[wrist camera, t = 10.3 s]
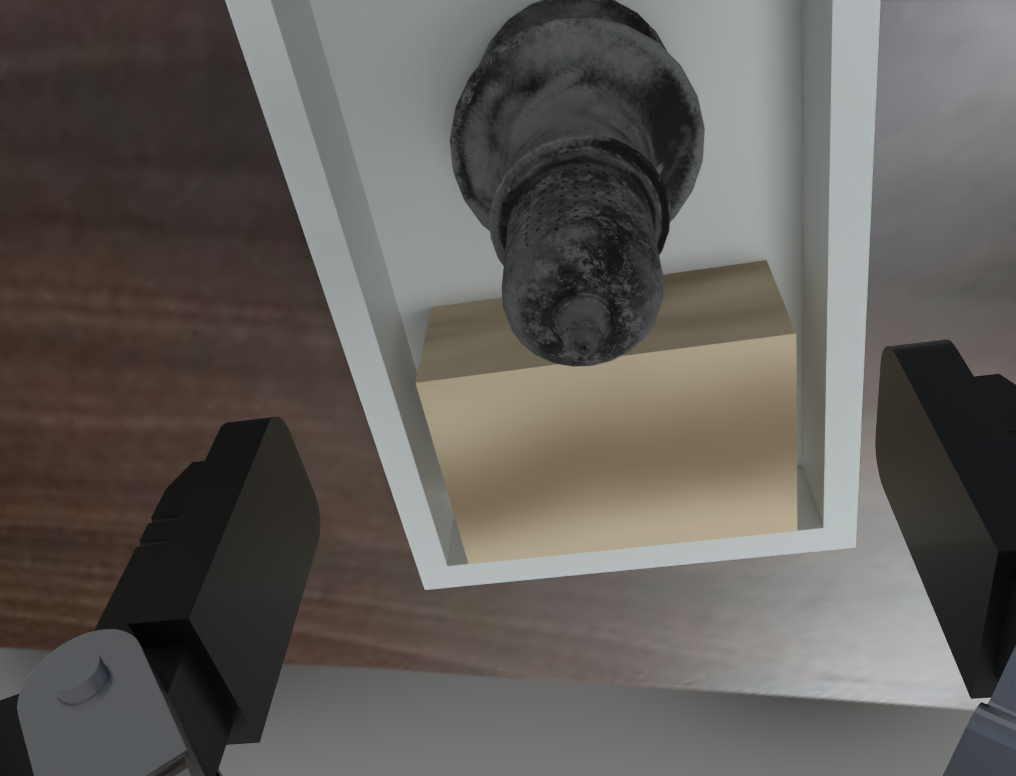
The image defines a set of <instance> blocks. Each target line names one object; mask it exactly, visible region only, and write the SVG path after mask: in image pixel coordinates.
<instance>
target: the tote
mask: <svg viewBox="0 0 1016 776" xmlns="http://www.w3.org/2000/svg"><path fill="white" fill-rule="evenodd" d="M225 1H226V4H227V7H228V10H229V13H230V16H231V19H232V22H233V25H234V28H235V31H236V34H237V37H238V40H239V43H240V46H241V49H242V52H243V55H244V58H245V61H246V63H247V66H248V69H249V72H250V75H251V78H252V81H253V84H254V87H255V90H256V93H257V96H258V99H259V102H260V105H261V108H262V111H263V114H264V117H265V120H266V123H267V125H268V128H269V131H270V134H271V137H272V140H273V143H274V146H275V149H276V152H277V155H278V158H279V161H280V164H281V167H282V170H283V173H284V176H285V179H286V182H287V184H288V187H289V190H290V193H291V196H292V199H293V202H294V205H295V208H296V211H297V214H298V217H299V220H300V223H301V226H302V229H303V232H304V235H305V238H306V241H307V244H308V246H309V249H310V252H311V255H312V258H313V261H314V264H315V267H316V270H317V273H318V276H319V279H320V282H321V285H322V288H323V291H324V294H325V297H326V300H327V303H328V306H329V308H330V311H331V314H332V317H333V320H334V323H335V326H336V329H337V332H338V335H339V338H340V341H341V344H342V347H343V350H344V353H345V356H346V359H347V362H348V365H349V367H350V370H351V373H352V376H353V379H354V382H355V385H356V388H357V391H358V394H359V397H360V400H361V403H362V406H363V409H364V412H365V415H366V418H367V421H368V424H369V427H370V429H371V432H372V435H373V438H374V441H375V444H376V447H377V450H378V453H379V456H380V459H381V462H382V465H383V468H384V471H385V474H386V477H387V480H388V483H389V486H390V489H391V491H392V494H393V497H394V500H395V503H396V506H397V509H398V512H399V515H400V518H401V521H402V524H403V527H404V530H405V533H406V536H407V539H408V542H409V545H410V548H411V550H412V553H413V556H414V559H415V562H416V565H417V568H418V571H419V574H420V577H421V580H422V583H423V586H424V589H425V590H428V589H439V588H449V587H459V586H469V585H479V584H489V583H500V582H510V581H520V580H530V579H540V578H551V577H561V576H571V575H581V574H591V573H602V572H612V571H622V570H632V569H642V568H652V567H663V566H673V565H683V564H693V563H703V562H714V561H724V560H734V559H744V558H754V557H765V556H775V555H785V554H795V553H805V552H815V551H826V550H836V549H846V548H856V530H857V508H858V486H859V464H860V442H861V420H862V398H863V376H864V354H865V332H866V310H867V288H868V266H869V244H870V222H871V200H872V178H873V156H874V134H875V112H876V90H877V68H878V46H879V24H880V2H881V0H615V1H617V2H619V3H620V4H622V5H624V6H626V7H628V8H630V9H631V10H633V11H635V12H637V13H638V14H639V15H640V16H641V17H642V18H643V19H644V20H645V21H646V22H647V23H648V24H649V25H650V26H651V27H652V28H653V29H654V30H655V31H656V32H657V34H658V36H659V37H660V39H661V41H662V43H663V45H664V46H665V48H666V50H667V52H668V53H669V54H670V55H671V56H672V57H673V58H674V59H675V60H676V61H677V62H678V63H679V64H680V65H681V66H682V68H683V70H684V72H685V74H686V75H687V77H688V79H689V81H690V83H691V85H692V86H693V88H694V90H695V92H696V94H697V96H698V100H699V104H700V109H701V114H702V118H703V123H704V127H705V133H704V150H703V162H702V165H701V168H700V171H699V173H698V176H697V179H696V182H695V185H694V188H693V191H692V193H691V194H690V196H689V197H688V199H687V200H686V202H685V203H684V205H683V206H682V208H681V209H680V211H679V212H678V214H677V215H676V217H675V218H674V219H673V220H672V221H671V222H670V230H669V233H668V236H667V239H666V242H665V245H664V248H663V251H662V252H661V254H660V255H659V257H660V262H661V267H662V273H663V275H664V274H672V273H679V272H686V271H693V270H700V269H707V268H714V267H721V266H728V265H736V264H743V263H750V262H757V261H764V260H767V262H768V265H769V267H770V270H771V272H772V275H773V277H774V280H775V282H776V284H777V287H778V289H779V292H780V294H781V297H782V299H783V302H784V304H785V307H786V309H787V312H788V314H789V317H790V319H791V321H792V324H793V326H794V329H795V331H796V365H797V531H792V532H782V533H772V534H762V535H753V536H743V537H733V538H723V539H713V540H703V541H693V542H683V543H674V544H664V545H654V546H644V547H634V548H624V549H614V550H605V551H595V552H585V553H575V554H565V555H555V556H545V557H535V558H526V559H516V560H506V561H496V562H486V563H476V564H468V560H467V557H466V554H465V550H464V547H463V543H462V540H461V536H460V533H459V530H458V526H457V523H456V519H455V516H454V513H453V509H452V506H451V502H450V499H449V495H448V492H447V489H446V485H445V482H444V478H443V475H442V472H441V468H440V465H439V461H438V458H437V454H436V451H435V448H434V444H433V441H432V437H431V434H430V431H429V427H428V424H427V420H426V417H425V414H424V410H423V407H422V403H421V400H420V396H419V393H418V390H417V386H416V378H417V373H418V369H419V364H420V359H421V354H422V349H423V345H424V340H425V335H426V330H427V326H428V321H429V316H430V311H431V307H437V306H444V305H451V304H458V303H466V302H473V301H480V300H487V299H494V298H501V297H502V278H503V268H504V266H503V265H502V263H501V262H500V261H499V259H498V257H497V254H496V252H495V249H494V246H493V244H492V241H491V236H490V231H489V230H488V229H486V228H485V227H484V226H483V225H482V224H481V223H480V221H479V220H478V219H477V217H476V216H475V215H474V213H473V212H472V210H471V209H470V208H469V206H468V205H467V204H466V202H465V201H464V199H463V196H462V194H461V191H460V188H459V186H458V183H457V181H456V178H455V176H454V173H453V167H452V158H451V148H450V136H451V130H452V124H453V118H454V112H455V107H456V105H457V103H458V100H459V98H460V96H461V94H462V92H463V90H464V88H465V85H466V83H467V81H468V79H469V77H470V76H471V74H472V73H473V72H474V71H475V70H476V69H477V67H478V66H479V64H480V61H481V59H482V57H483V55H484V53H485V51H486V49H487V47H488V44H489V42H490V41H491V39H492V38H493V37H494V36H495V35H496V34H497V32H498V31H499V30H500V29H501V28H502V26H503V25H504V24H505V23H506V22H507V21H508V20H509V19H510V18H512V17H513V16H515V15H516V14H517V13H519V12H520V11H522V10H523V9H525V8H526V7H528V6H529V5H531V4H533V3H536V2H539V1H542V0H225Z"/></svg>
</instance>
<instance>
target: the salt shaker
mask: <svg viewBox="0 0 1016 776" xmlns="http://www.w3.org/2000/svg"><path fill="white" fill-rule="evenodd" d="M704 133H705V127H704V123H703V118H702V114H701V109H700V104H699V100H698V96H697V94H696V92H695V90H694V88H693V86H692V85H691V83H690V81H689V79H688V77H687V75H686V74H685V72H684V70H683V68H682V66H681V65H680V64H679V63H678V62H677V61H676V60H675V59H674V58H673V57H672V56H671V55H670V54H669V53H668V52H667V50H666V48H665V46H664V45H663V43H662V41H661V39H660V37H659V36H658V34H657V32H656V31H655V30H654V29H653V28H652V27H651V26H650V25H649V24H648V23H647V22H646V21H645V20H644V19H643V18H642V17H641V16H640V15H639V14H638V13H637V12H635V11H633V10H631V9H630V8H628V7H626V6H624V5H622V4H620V3H619V2H617V1H615V0H542V1H539V2H536V3H533V4H531V5H529V6H528V7H526V8H525V9H523V10H522V11H520V12H519V13H517V14H516V15H515V16H513V17H512V18H510V19H509V20H508V21H507V22H506V23H505V24H504V25H503V26H502V28H501V29H500V30H499V31H498V32H497V34H496V35H495V36H494V37H493V38H492V39H491V41H490V42H489V44H488V47H487V49H486V51H485V53H484V55H483V57H482V59H481V61H480V64H479V66H478V67H477V69H476V70H475V71H474V72H473V73H472V74H471V76H470V77H469V79H468V81H467V83H466V85H465V88H464V90H463V92H462V94H461V96H460V98H459V100H458V103H457V105H456V107H455V112H454V118H453V124H452V130H451V136H450V148H451V158H452V167H453V173H454V176H455V178H456V181H457V183H458V186H459V188H460V191H461V194H462V196H463V199H464V201H465V202H466V204H467V205H468V206H469V208H470V209H471V210H472V212H473V213H474V215H475V216H476V217H477V219H478V220H479V221H480V223H481V224H482V225H483V226H484V227H485V228H486V229H488V230H489V231H490V236H491V241H492V244H493V246H494V249H495V252H496V254H497V257H498V259H499V261H500V262H501V263H502V265H503V266H504V268H503V278H502V302H503V308H504V311H505V314H506V317H507V319H508V322H509V325H510V327H511V330H512V331H513V333H514V334H515V335H516V337H517V338H518V339H519V341H520V342H521V343H522V345H524V346H525V347H526V348H527V349H529V350H530V351H531V352H533V353H534V354H535V355H536V356H539V357H541V358H543V359H545V360H548V361H550V362H552V363H556V364H561V365H566V366H572V367H577V366H594V365H598V364H602V363H606V362H609V361H612V360H614V359H616V358H618V357H620V356H622V355H624V354H626V353H628V352H630V351H631V350H632V349H633V348H634V347H635V346H637V345H638V344H639V343H640V342H641V341H642V340H644V338H645V337H646V335H647V334H648V333H649V331H650V330H651V328H652V327H653V326H654V324H655V321H656V319H657V316H658V313H659V310H660V307H661V304H662V300H663V286H664V278H663V273H662V267H661V262H660V257H659V255H660V254H661V252H662V251H663V248H664V245H665V242H666V239H667V236H668V233H669V230H670V222H671V221H672V220H673V219H674V218H675V217H676V215H677V214H678V212H679V211H680V209H681V208H682V206H683V205H684V203H685V202H686V200H687V199H688V197H689V196H690V194H691V193H692V191H693V188H694V185H695V182H696V179H697V176H698V173H699V171H700V168H701V165H702V162H703V150H704Z"/></svg>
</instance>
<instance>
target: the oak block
mask: <svg viewBox="0 0 1016 776" xmlns="http://www.w3.org/2000/svg"><path fill="white" fill-rule="evenodd" d="M663 278H664V286H663V300H662V304H661V307H660V310H659V313H658V316H657V319H656V321H655V324H654V326H653V327H652V328H651V330H650V331H649V333H648V334H647V335H646V337H645V338H644V340H642V341H641V342H640V343H639V344H638V345H637V346H635V347H634V348H633V349H632V350H631V351H630V352H628V353H626V354H624V355H622V356H620V357H618V358H616V359H614V360H612V361H609V362H606V363H602V364H598V365H594V366H577V367H572V366H566V365H561V364H556V363H552V362H550V361H548V360H545V359H543V358H541V357H539V356H536V355H535V354H534V353H533V352H531V351H530V350H529V349H527V348H526V347H525V346H524V345H522V343H521V342H520V341H519V339H518V338H517V337H516V335H515V334H514V333H513V331H512V330H511V327H510V325H509V322H508V319H507V317H506V314H505V311H504V308H503V302H502V297H501V298H494V299H487V300H480V301H473V302H466V303H458V304H451V305H444V306H437V307H431V311H430V316H429V321H428V326H427V330H426V335H425V340H424V345H423V349H422V354H421V359H420V364H419V369H418V373H417V378H416V386H417V390H418V393H419V396H420V400H421V403H422V407H423V410H424V414H425V417H426V420H427V424H428V427H429V431H430V434H431V437H432V441H433V444H434V448H435V451H436V454H437V458H438V461H439V465H440V468H441V472H442V475H443V478H444V482H445V485H446V489H447V492H448V495H449V499H450V502H451V506H452V509H453V513H454V516H455V519H456V523H457V526H458V530H459V533H460V536H461V540H462V543H463V547H464V550H465V554H466V557H467V560H468V564H476V563H486V562H496V561H506V560H516V559H526V558H535V557H545V556H555V555H565V554H575V553H585V552H595V551H605V550H614V549H624V548H634V547H644V546H654V545H664V544H674V543H683V542H693V541H703V540H713V539H723V538H733V537H743V536H753V535H762V534H772V533H782V532H792V531H797V365H796V331H795V329H794V326H793V324H792V321H791V319H790V317H789V314H788V312H787V309H786V307H785V304H784V302H783V299H782V297H781V294H780V292H779V289H778V287H777V284H776V282H775V280H774V277H773V275H772V272H771V270H770V267H769V265H768V262H767V260H764V261H757V262H750V263H743V264H736V265H728V266H721V267H714V268H707V269H700V270H693V271H686V272H679V273H672V274H664V275H663Z"/></svg>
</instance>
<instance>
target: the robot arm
mask: <svg viewBox="0 0 1016 776" xmlns="http://www.w3.org/2000/svg"><path fill="white" fill-rule="evenodd" d="M876 458H877V465H878V471H879V475H880V479H881V483H882V486H883V488H884V491H885V493H886V496H887V498H888V501H889V503H890V505H891V508H892V510H893V513H894V515H895V517H896V520H897V522H898V525H899V527H900V529H901V532H902V534H903V537H904V539H905V541H906V544H907V546H908V549H909V551H910V553H911V556H912V558H913V561H914V563H915V565H916V568H917V570H918V573H919V575H920V577H921V580H922V582H923V585H924V587H925V589H926V592H927V594H928V597H929V599H930V601H931V604H932V606H933V609H934V611H935V613H936V616H937V618H938V621H939V623H940V625H941V628H942V630H943V633H944V635H945V637H946V640H947V642H948V645H949V647H950V649H951V652H952V654H953V657H954V659H955V661H956V664H957V666H958V669H959V671H960V673H961V676H962V678H963V681H964V683H965V685H966V688H967V690H968V693H969V695H970V697H971V699H974V698H989V697H991V699H990V701H989V702H988V704H984V703H980V704H979V705H978V707H977V708H976V710H975V711H974V713H973V715H972V716H971V718H970V720H969V722H968V724H967V726H966V728H965V731H964V733H963V735H962V737H961V739H960V741H959V743H958V745H957V747H956V749H955V752H954V753H953V756H952V758H951V760H950V762H949V764H948V766H947V768H946V770H945V772H944V774H943V776H1016V385H1015V384H1014V383H1012V382H1011V381H1009V380H1008V379H1006V378H1005V377H1003V376H1002V375H1000V374H994V375H985V376H976V377H974V376H973V374H972V373H971V371H970V369H969V368H968V366H967V365H966V363H965V361H964V360H963V358H962V357H961V355H960V353H959V352H958V350H957V349H956V347H955V346H954V344H953V343H952V342H951V341H950V340H939V341H930V342H922V343H913V344H905V345H896V346H888V347H885V349H884V350H883V353H882V357H881V367H880V381H879V396H878V411H877V425H876ZM151 518H152V523H149V524H148V525H147V527H146V529H145V531H144V533H143V535H142V537H141V539H140V541H139V542H140V547H136V549H135V551H134V553H133V555H132V557H131V559H130V561H129V563H128V565H127V567H126V569H125V571H124V573H123V575H122V577H121V579H120V581H119V583H118V585H117V586H116V588H115V590H114V592H113V594H112V596H111V598H110V600H109V602H108V604H107V606H106V608H105V610H104V612H103V614H102V616H101V618H100V620H99V622H98V624H97V626H96V628H95V630H94V631H93V632H89V633H86V634H83V635H81V636H78V637H76V638H74V639H72V640H70V641H68V642H66V643H64V644H63V645H61V646H60V647H58V648H57V649H55V650H54V651H53V652H51V653H50V654H49V655H48V656H46V657H45V658H44V659H43V660H42V661H41V662H40V663H39V664H38V665H37V666H36V668H35V669H34V670H33V671H32V672H31V674H30V675H29V677H28V678H27V679H26V681H25V683H24V685H23V687H22V689H21V691H20V694H17V695H14V696H12V697H9V698H6V699H3V700H0V776H223V775H222V774H221V772H220V770H219V769H218V768H219V765H220V762H221V759H222V756H223V753H224V750H225V747H226V745H229V744H244V743H259V742H260V739H261V736H262V733H263V729H264V726H265V722H266V719H267V715H268V712H269V708H270V705H271V702H272V698H273V695H274V691H275V688H276V684H277V681H278V678H279V674H280V671H281V667H282V664H283V661H284V657H285V654H286V650H287V647H288V643H289V640H290V637H291V633H292V630H293V626H294V623H295V619H296V616H297V613H298V609H299V606H300V602H301V599H302V595H303V592H304V589H305V585H306V582H307V578H308V575H309V571H310V568H311V565H312V561H313V558H314V554H315V551H316V547H317V544H318V540H319V534H320V514H319V507H318V503H317V499H316V496H315V493H314V491H313V488H312V486H311V483H310V481H309V478H308V476H307V473H306V471H305V468H304V466H303V463H302V461H301V459H300V456H299V454H298V451H297V449H296V446H295V444H294V441H293V439H292V436H291V434H290V431H289V429H288V427H287V425H286V423H285V422H284V421H283V420H282V419H281V418H280V417H270V418H262V419H253V420H245V421H236V422H228V423H225V424H224V425H223V426H222V427H221V428H220V430H219V432H218V434H217V436H216V438H215V441H214V443H213V445H212V447H211V449H210V451H209V453H208V455H207V457H206V459H205V461H200V462H192V463H191V464H190V465H189V466H188V467H187V468H186V469H185V470H184V471H183V472H182V473H181V474H180V475H179V476H178V477H177V478H176V479H175V480H174V482H173V483H172V484H171V485H170V486H169V487H168V488H167V489H166V490H165V492H164V494H163V496H162V498H161V500H160V502H159V504H158V506H157V508H156V510H155V512H154V514H153V516H152V517H151Z"/></svg>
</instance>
